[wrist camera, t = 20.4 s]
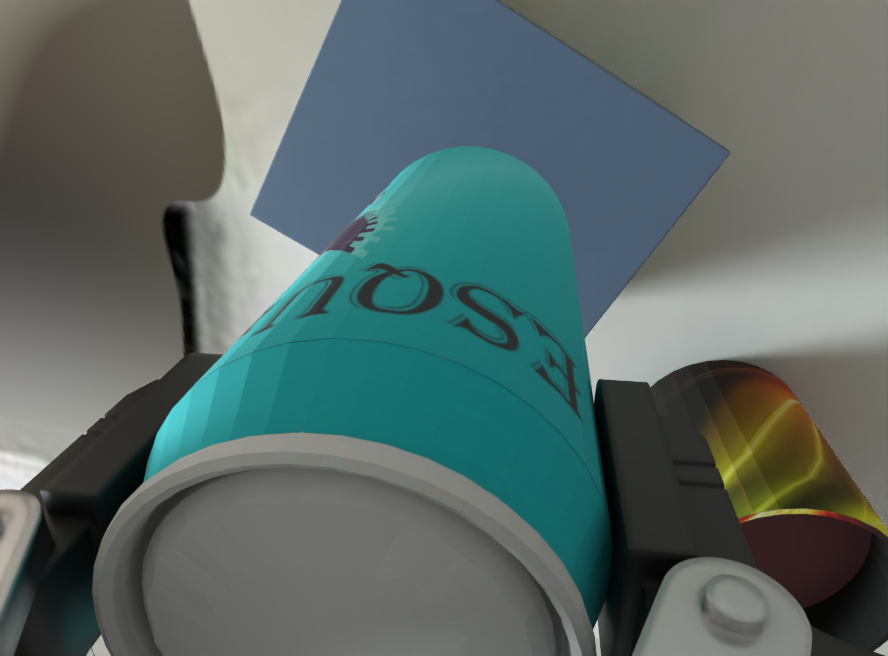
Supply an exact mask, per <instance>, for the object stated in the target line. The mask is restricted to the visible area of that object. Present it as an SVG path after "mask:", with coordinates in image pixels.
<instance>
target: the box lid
mask: <svg viewBox="0 0 888 656" xmlns="http://www.w3.org/2000/svg"><path fill="white" fill-rule="evenodd" d="M461 146H463V147H483V148H489V149H494V150H497V151H500V152H503V153H506V154H509V155H511V156H513V157H515V158H517V159H519V160H520V161H522V162H524V163H526V164H527V165H528V166H529V167H531V168H532V169H533V170H535V171H536V172H537V173H538V174H539V175H540V176H541V177H542V178H543V179H544V180H545V181H546V182H547V183H548V184H549V185H550V187H551V188H552V190H553V191H554V193H555V194H556V196H557V197H558V199H559V201H560V203H561V206H562V208H563V210H564V212H565V215H566V219H567V222H568V226H569V231H570V238H571V245H572V252H573V259H574V266H575V274H576V281H577V288H578V295H579V302H580V309H581V316H582V323H583V330H584V337H586V336H587V335H588V333H589V332H590V331H591V329H592V328H593V327H594V326H595V324H596V323H597V322H598V321H599V319H600V318H601V317H602V315H603V314H604V313H605V312H606V310H607V309H608V308H609V307H610V305H611V304H612V303H613V302H614V300H615V299H616V298H617V296H618V295H619V294H620V293H621V291H622V290H623V289H624V288H625V286H626V285H627V284H628V282H629V281H630V280H631V279H632V277H633V276H634V275H635V274H636V272H637V271H638V270H639V269H640V267H641V266H642V265H643V263H644V262H645V261H646V260H647V258H648V257H649V256H650V255H651V253H652V252H653V251H654V249H655V248H656V247H657V246H658V244H659V243H660V242H661V241H662V239H663V238H664V237H665V236H666V234H667V233H668V232H669V230H670V229H671V228H672V227H673V225H674V224H675V223H676V222H677V220H678V219H679V218H680V216H681V215H682V214H683V213H684V211H685V210H686V209H687V208H688V206H689V205H690V204H691V202H692V201H693V200H694V199H695V197H696V196H697V195H698V194H699V192H700V191H701V190H702V189H703V187H704V186H705V185H706V183H707V182H708V181H709V180H710V178H711V177H712V176H713V175H714V173H715V172H716V171H717V169H718V168H719V167H720V166H721V164H722V163H723V162H724V161H725V159H726V158H727V157H728V156H729V154H730V151H729V150H728V149H726V148H725V147H723V146H722V145H720V144H719V143H717V142H715V141H714V140H712V139H711V138H709V137H708V136H706V135H705V134H703V133H702V132H700V131H699V130H697V129H695V128H694V127H692V126H691V125H689V124H688V123H686V122H685V121H683V120H682V119H680V118H679V117H677V116H675V115H674V114H672V113H671V112H669V111H668V110H666V109H665V108H663V107H662V106H660V105H659V104H657V103H656V102H654V101H652V100H651V99H649V98H648V97H646V96H645V95H643V94H642V93H640V92H639V91H637V90H636V89H634V88H632V87H631V86H629V85H628V84H626V83H625V82H623V81H622V80H620V79H619V78H617V77H616V76H614V75H612V74H611V73H609V72H608V71H606V70H605V69H603V68H602V67H600V66H599V65H597V64H596V63H594V62H593V61H591V60H589V59H588V58H586V57H585V56H583V55H582V54H580V53H579V52H577V51H576V50H574V49H573V48H571V47H569V46H568V45H566V44H565V43H563V42H562V41H560V40H559V39H557V38H556V37H554V36H553V35H551V34H550V33H548V32H546V31H545V30H543V29H542V28H540V27H539V26H537V25H536V24H534V23H533V22H531V21H530V20H528V19H526V18H525V17H523V16H522V15H520V14H519V13H517V12H516V11H514V10H513V9H511V8H510V7H508V6H506V5H505V4H503V3H502V2H500V1H499V0H341V2H340V5H339V7H338V9H337V12H336V14H335V16H334V19H333V21H332V23H331V26H330V28H329V30H328V33H327V35H326V37H325V40H324V42H323V44H322V47H321V49H320V51H319V54H318V56H317V58H316V61H315V63H314V65H313V68H312V70H311V72H310V75H309V77H308V79H307V82H306V84H305V86H304V89H303V91H302V93H301V96H300V98H299V100H298V103H297V105H296V107H295V110H294V112H293V114H292V117H291V119H290V121H289V124H288V126H287V128H286V131H285V133H284V135H283V138H282V140H281V142H280V145H279V147H278V149H277V152H276V154H275V156H274V159H273V161H272V163H271V166H270V168H269V170H268V173H267V175H266V177H265V180H264V182H263V185H262V187H261V189H260V192H259V194H258V196H257V199H256V201H255V203H254V206H253V208H252V210H251V213H250V215H251V216H253V217H254V218H256V219H258V220H260V221H261V222H263V223H265V224H267V225H268V226H270V227H272V228H274V229H275V230H277V231H279V232H280V233H282V234H284V235H286V236H287V237H289V238H291V239H293V240H294V241H296V242H298V243H299V244H301V245H303V246H305V247H306V248H308V249H310V250H312V251H313V252H315V253H317V254H318V255H321V254H322V253H323V252H324V251H325V250H326V249H327V248H328V247H329V246H330V245H331V244H332V243H333V241H334V240H335V239H336V238H337V237H338V236H339V235H340V234H341V233H342V232H343V231H344V230H345V229H346V228H347V227H348V226H349V225H350V224H351V223H352V222H353V221H354V220H355V219H356V218H357V217H358V216H359V215H360V214H361V213H362V212H363V211H364V210H365V209H366V208H367V207H368V205H369V204H370V203H371V202H372V201H373V200H374V199H375V198H376V197H377V196H378V195H379V194H380V193H381V192H382V191H383V190H384V189H385V188H386V187H387V186H388V185H389V184H390V183H391V182H392V181H393V180H394V179H395V178H396V177H397V176H398V175H399V174H400V173H401V172H402V171H403V170H404V169H405V168H407V167H408V166H409V165H411V164H412V163H413V162H415V161H417V160H419V159H421V158H423V157H424V156H426V155H428V154H431V153H434V152H437V151H440V150H443V149H448V148H454V147H461Z"/></svg>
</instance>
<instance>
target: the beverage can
mask: <svg viewBox="0 0 888 656" xmlns="http://www.w3.org/2000/svg"><path fill="white" fill-rule="evenodd" d="M612 557H613V543H612V530H611V522H610V515H609V508H608V501H607V494H606V487H605V480H604V473H603V465H602V458H601V451H600V444H599V437H598V430H597V423H596V416H595V409H594V401H593V394H592V387H591V380H590V373H589V366H588V359H587V352H586V345H585V337H584V330H583V323H582V316H581V309H580V302H579V295H578V288H577V281H576V274H575V266H574V259H573V252H572V245H571V238H570V231H569V226H568V222H567V219H566V215H565V212H564V210H563V208H562V206H561V203H560V201H559V199H558V197H557V196H556V194H555V193H554V191H553V190H552V188H551V187H550V185H549V184H548V183H547V182H546V181H545V180H544V179H543V178H542V177H541V176H540V175H539V174H538V173H537V172H536V171H535V170H533V169H532V168H531V167H529V166H528V165H527V164H526V163H524V162H522V161H520V160H519V159H517V158H515V157H513V156H511V155H509V154H506V153H503V152H500V151H497V150H494V149H489V148H483V147H463V146H461V147H454V148H448V149H443V150H440V151H437V152H434V153H431V154H428V155H426V156H424V157H423V158H421V159H419V160H417V161H415V162H413V163H412V164H411V165H409V166H408V167H407V168H405V169H404V170H403V171H402V172H401V173H400V174H399V175H398V176H397V177H396V178H395V179H394V180H393V181H392V182H391V183H390V184H389V185H388V186H387V187H386V188H385V189H384V190H383V191H382V192H381V193H380V194H379V195H378V196H377V197H376V198H375V199H374V200H373V201H372V202H371V203H370V204H369V205H368V207H367V208H366V209H365V210H364V211H363V212H362V213H361V214H360V215H359V216H358V217H357V218H356V219H355V220H354V221H353V222H352V223H351V224H350V225H349V226H348V227H347V228H346V229H345V230H344V231H343V232H342V233H341V234H340V235H339V236H338V237H337V238H336V239H335V240H334V241H333V243H332V244H331V245H330V246H329V247H328V248H327V249H326V250H325V251H324V252H323V253H322V254H321V255H320V256H319V257H318V258H317V259H316V260H315V261H314V262H313V263H312V264H311V265H310V266H309V267H308V268H307V269H306V270H305V271H304V272H303V273H302V274H301V275H300V276H299V278H298V279H297V280H296V281H295V282H294V283H293V284H292V285H291V286H290V287H289V288H288V289H287V290H286V291H285V292H284V293H283V294H282V295H281V296H280V297H279V298H278V299H277V300H276V301H275V302H274V303H273V304H272V305H271V306H270V307H269V308H268V309H267V310H266V311H265V312H264V314H263V315H262V316H261V317H260V318H259V319H258V320H257V321H256V322H255V323H254V324H253V325H252V326H251V327H250V328H249V329H248V330H247V331H246V332H245V333H244V334H243V335H242V336H241V337H240V338H239V339H238V340H237V341H236V342H235V343H234V344H233V345H232V346H231V347H230V348H229V350H228V351H227V352H226V353H225V354H224V355H223V356H222V357H221V358H220V359H219V360H218V361H217V362H216V363H215V364H214V365H213V366H212V367H211V368H210V369H209V370H208V371H207V372H206V373H205V374H204V375H203V376H202V377H201V378H200V379H199V380H198V381H197V382H196V383H195V384H194V386H193V387H192V388H191V389H190V390H189V391H188V392H187V393H186V394H185V395H184V396H183V397H182V398H181V399H180V400H179V402H178V403H177V404H176V405H175V406H174V407H173V408H172V409H171V411H170V412H169V414H168V416H167V417H166V419H165V421H164V422H163V424H162V426H161V428H160V429H159V431H158V433H157V434H156V437H155V440H154V443H153V446H152V449H151V452H150V455H149V458H148V462H147V468H146V473H145V477H144V482H143V484H142V485H141V486H140V487H139V488H138V489H137V490H136V491H135V492H134V493H133V494H132V495H131V496H130V497H129V498H128V499H127V500H126V501H125V502H124V503H123V504H122V505H121V507H120V508H119V510H118V512H117V513H116V515H115V517H114V518H113V520H112V522H111V523H110V525H109V527H108V528H107V530H106V532H105V535H104V537H103V539H102V541H101V545H100V548H99V551H98V554H97V557H96V561H95V564H94V572H93V587H92V595H93V601H94V608H95V614H96V620H97V623H98V626H99V629H100V631H101V634H102V637H103V640H104V642H105V645H106V647H107V649H108V651H109V653H110V655H111V656H597V655H596V646H595V636H594V632H593V628H594V626H595V624H596V622H597V619H598V617H599V615H600V613H601V611H602V608H603V605H604V602H605V600H606V596H607V593H608V588H609V581H610V574H611V567H612Z"/></svg>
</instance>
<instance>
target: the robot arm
mask: <svg viewBox="0 0 888 656" xmlns="http://www.w3.org/2000/svg"><path fill="white" fill-rule="evenodd" d="M222 356H223V355H222V354H206V353H189V354H187V355H186V356H185V357H184V358H183V359H181V360H180V361H179V362H178V363H177V364H176V365H175V366H174V367H173V368H172V369H171V370H170V371H169V372H167V373H166V374H165V375H164V376H163V377H162V378H161V379H160V380H155V381H153V382H151V383H149V384H147V385H145V386H144V387H141V388H140V389H138V390H136V391H134V392H132V393H130V394H128V395H126V396H125V397H124V398H123V399H122V400H121V401H120V402H119V403H117V404H116V405H115V406H114V407H113V408H112V409H111V410H109V411H108V412H107V413H106V414H105V418H100V419H99V420H98V421H97V422H96V423H95V424H94V425H93V426H91V427H90V428H89V429H88V430H87V434H86V435H81V436H80V437H79V438H78V439H77V440H76V441H75V442H73V443H72V444H71V445H70V446H69V447H68V448H67V449H66V450H65V451H63V452H62V453H61V454H60V455H59V456H58V457H57V458H56V459H54V460H53V461H52V462H51V463H50V464H49V465H48V466H47V467H45V468H44V469H43V470H42V471H41V472H40V473H39V474H38V475H36V476H35V477H34V478H33V479H32V480H31V481H30V482H29V483H27V484H26V485H25V486H24V487H23V488H22V489H21V490H0V656H95V655H94V653H93V650H92V646H93V645H94V643H95V642H96V641H97V639H98V638H99V636H100V635H101V631H100V629H99V626H98V623H97V620H96V614H95V608H94V601H93V595H92V587H93V572H94V564H95V561H96V557H97V554H98V551H99V548H100V545H101V541H102V539H103V537H104V535H105V532H106V530H107V528H108V527H109V525H110V523H111V522H112V520H113V518H114V517H115V515H116V513H117V512H118V510H119V508H120V507H121V505H122V504H123V503H124V502H125V501H126V500H127V499H128V498H129V497H130V496H131V495H132V494H133V493H134V492H135V491H136V490H137V489H138V488H139V487H140V486H141V485H142V484H143V482H144V477H145V473H146V468H147V462H148V458H149V455H150V452H151V449H152V446H153V443H154V440H155V437H156V434H157V433H158V431H159V429H160V428H161V426H162V424H163V422H164V421H165V419H166V417H167V416H168V414H169V412H170V411H171V409H172V408H173V407H174V406H175V405H176V404H177V403H178V402H179V400H180V399H181V398H182V397H183V396H184V395H185V394H186V393H187V392H188V391H189V390H190V389H191V388H192V387H193V386H194V384H195V383H196V382H197V381H198V380H199V379H200V378H201V377H202V376H203V375H204V374H205V373H206V372H207V371H208V370H209V369H210V368H211V367H212V366H213V365H214V364H215V363H216V362H217V361H218V360H219V359H220V358H221V357H222ZM594 409H595V416H596V423H597V430H598V437H599V444H600V451H601V458H602V465H603V473H604V480H605V487H606V494H607V501H608V508H609V515H610V522H611V530H612V543H613V557H612V567H611V574H610V581H609V588H608V593H607V596H606V600H605V602H604V605H603V608H602V611H601V613H600V615H599V617H598V626H599V637H600V648H601V656H884V655H881V654H878V653H876V652H873V651H870V650H867V649H864V648H862V647H859V646H856V645H853V644H850V643H847V642H845V641H842V640H840V639H837V638H835V637H833V636H830V635H828V634H826V633H824V632H822V631H820V630H818V629H817V628H815V627H813V626H812V625H810V623H809V620H808V618H807V616H806V614H805V612H804V610H803V609H802V607H801V606H800V604H799V603H798V602H797V600H796V599H795V598H794V597H793V596H792V595H791V594H790V593H789V592H788V591H787V590H786V589H785V588H784V587H783V586H782V585H780V584H779V583H778V582H776V581H775V580H774V579H772V578H771V577H769V576H768V575H766V574H764V573H762V572H761V571H759V570H758V567H757V565H756V562H755V560H754V557H753V555H752V552H751V550H750V547H749V545H748V542H747V540H746V537H745V535H744V532H743V530H742V527H741V525H740V522H739V520H738V517H737V515H736V512H735V510H734V507H733V505H732V502H731V499H730V497H729V494H728V492H727V489H724V482H723V479H722V477H721V474H720V472H719V469H718V468H716V462H715V459H714V457H713V454H712V452H711V449H710V447H709V444H708V442H707V439H706V438H705V437H704V436H703V435H702V434H701V433H699V432H698V431H697V430H696V429H695V428H694V427H693V426H692V425H691V424H690V423H689V422H688V421H687V420H686V419H685V418H684V417H672V416H658V412H657V409H656V406H655V402H654V399H653V396H652V392H651V389H650V386H649V384H648V383H647V382H633V381H617V380H602V379H599V380H598V382H597V386H596V392H595V400H594Z"/></svg>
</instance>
